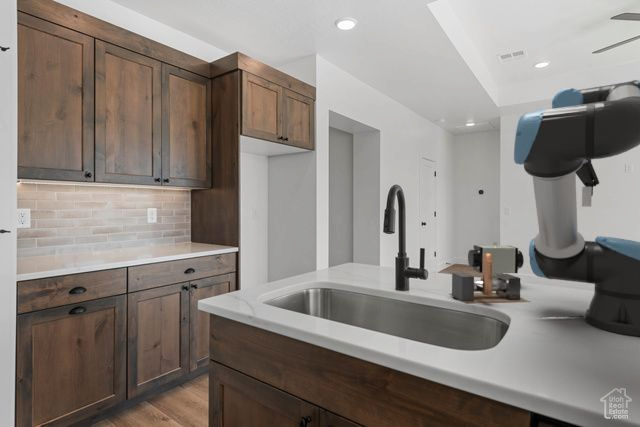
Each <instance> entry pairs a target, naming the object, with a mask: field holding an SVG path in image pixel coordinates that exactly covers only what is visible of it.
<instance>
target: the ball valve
mask: <svg viewBox="0 0 640 427" xmlns="http://www.w3.org/2000/svg"><path fill="white" fill-rule="evenodd" d="M483 253H492V254H493V280H496V274H518V273H519V272H518V270H519V269H521V268H523V265H524V262H525V261H524V254H523V252H522V251H521V250H519V248H518V247H515V246H512V245H498V242H497V241H493V242H492V245H486V244H485V245H484V244H483V245H482V244H479V245H476V244H475V245H473V248H472V249H469V251H468V253H467V262H468V265H469V267H470V268H473V270H474V271H476V272H478V273H479V274H481V273H482V274H483ZM479 281H483V276H481V277H480V280H479Z"/></svg>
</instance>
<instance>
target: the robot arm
mask: <svg viewBox="0 0 640 427" xmlns="http://www.w3.org/2000/svg"><path fill="white" fill-rule="evenodd" d="M551 106H552V107H551V108H550V109H549V108H548V109H544V108H542V109H539V110H535V111H531V112H526V113H523V114H522V115H521V116H520V117H519V119H518V122H517V125H516V131H515V137H514V138H515V139H514V148H513V161H514V163H515V164H516V165H523V168H524V171H525V173H526V174H528V175H530V176H531V177H532V182H533V183H532V184H533V190H534V191H533V192H534V198H535V199H534V200H535V206H536V207H535V208H536V216H537V223H538V224H537V226H538V233H537V235H536V236H535V237H534V238H532V239H531V240H530V242H529V246H528V257H529V265H530V269H531V271H532V273H533V274H534V275H535V276H536V277H539V278H545V279H547V280H556V281H557V280H558V281H559V280H560V281H567V282H577V283H586V284H593V285H594V293H593V296H592V298H591V301H590V304H589V307H588V309H587V310H586V312H585V321H586V323H588V325H591V326H593V327H596V328H598V329H601V330H604V331H608V332H611V333H616V334H622V335H628V336H634V337H640V241H635V240H631V239H625V238H618V237H613V236H611V237H610V236H599V235H598V236H596V237H595V238H594V241H592V240H585V239H584V236H583V235H582V234H581V233H580V232H579V231H578V212H577V211H578V210H577V209H578V208H577V207H578V206H577V205H578V204H577V181H576V180H577V178H576V176H577V177H578V178H579V180H580V181H581V183H582V184H583V185H584V186H582V188H581V207H586V208H587V207H588V208H589V207H590V208H591V207H592V197H593V194H594V191H593V190H594V187H596V186H597V185H600V180H599V178H598V176H597V173H596V170H595V169H594V165H593V163H592V160H599V159H607V158H612V157H615V156H618V155H621V154H623V153H626V152H628V151H630V150H633V149H634V148H636V147H638V146H640V79H633V80H630V81H626V82H620V83H615V84H614V83H612V84H609V85H601V86H595V87H589V88H583V89H577V88H571V87H568V88H564V89H561V90H560V91H558V92H557V93H556V94H555V95H554V97H553V98H552V102H551Z"/></svg>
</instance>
